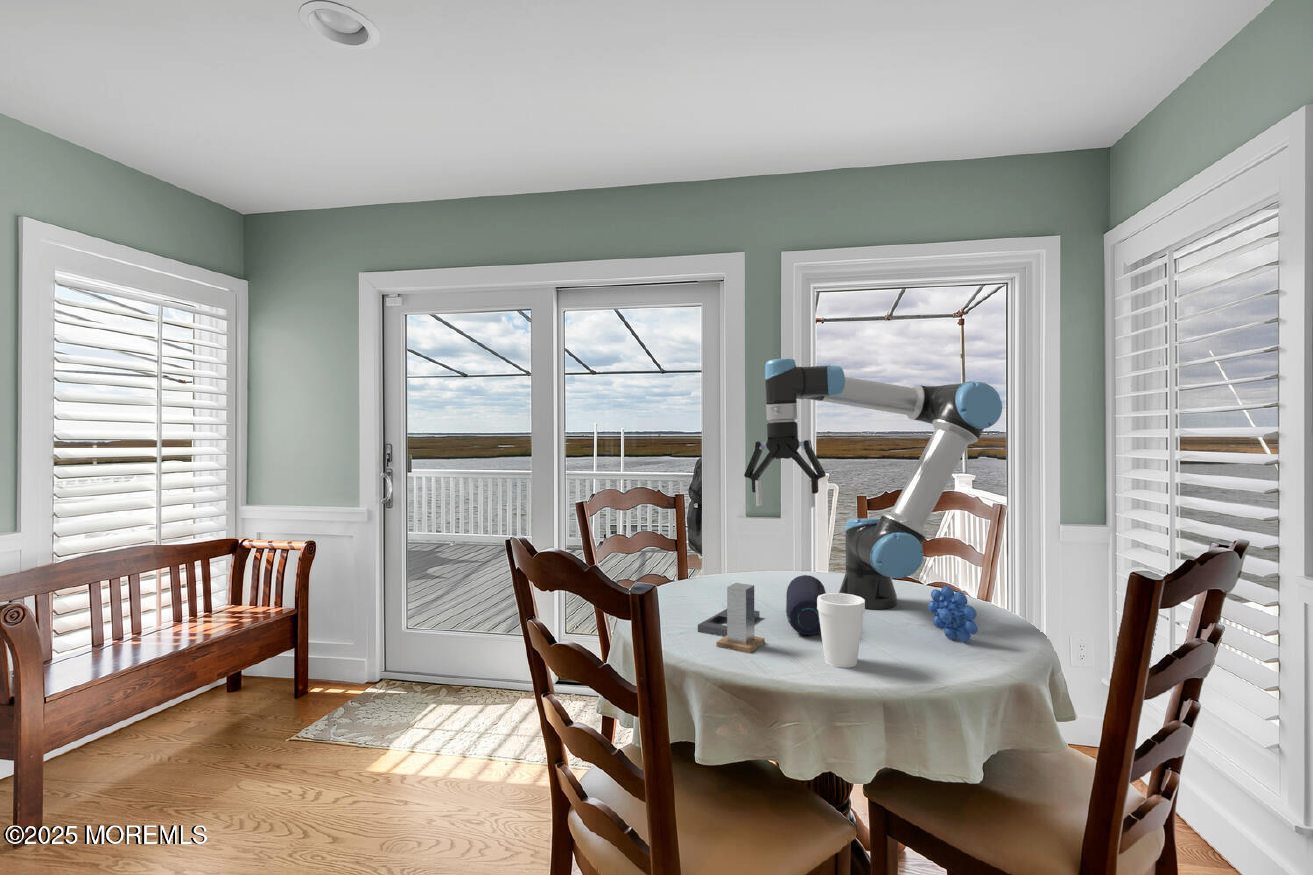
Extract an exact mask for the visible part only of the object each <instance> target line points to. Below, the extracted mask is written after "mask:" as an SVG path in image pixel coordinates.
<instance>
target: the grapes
mask: <svg viewBox="0 0 1313 875" xmlns="http://www.w3.org/2000/svg"><path fill="white" fill-rule="evenodd" d="M930 596H931V600H930V601H929V602H928V604H927V609H928V611H929V612H930V613H931V614H932V615H934V616H933V617H932V622H933V625H934V626H935V628H937V629H939V630H943V633H944V636H945V637H946V638H947V639H948V640H951V641H954V640H956V639H959V640H960V641H961V642H963V643H967V642H969V641H970V640H971V635H975V634H977V633H978V631H979V627H978V625H977V623H976V622H975V621H974V620H976V618H977V616H978V613H977V611H976V609H975V608H974V607H973V606H972V605H969V604H968V598H967V595H965V594H964V593H963V592H961V591H956V592H954V589H953V588H952V587H951V586H949V585H943V586H942V587H941V589H937V588H935V589H932V591H931V592H930Z"/></svg>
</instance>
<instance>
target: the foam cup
mask: <svg viewBox="0 0 1313 875" xmlns="http://www.w3.org/2000/svg"><path fill="white" fill-rule="evenodd" d="M817 610H818V612H819V620H820V627H821V632H820V634H821V642H822V650H823V657H824V661H825V663H826V664H827V665H830V666H832V667H836V668H846V669H847V668H853V667H855V666H857V663H858V657H859V649H860V643H861V642H860V640H861V635H862V628H863V620H864V615H865V612H866V611H865V610H866V608H865V600H864V599H863V598H861V597H859V596H855V595H851V594H844V593H838V592H834V593H833V592H830V593H826V594H822V595H819V596H818V598H817Z"/></svg>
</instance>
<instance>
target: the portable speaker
mask: <svg viewBox="0 0 1313 875" xmlns="http://www.w3.org/2000/svg"><path fill="white" fill-rule="evenodd" d="M822 594H827V592H826V589H825V586H824V585H823V583H822V582H821V580H819V579H818V578H816V577H815V576H813V575H806V574H804V575H803V574H802V575H799V576H796V577H794V578H793V579H792V580H791V581H790V583H789V584H788V586H787V587H786V596H785V597H786V600H785V602H786V604H785V606H786V607H785V612H786V618H787V620H788V623H789V625H790V627H792V629H793V630H794V631H795V632H797V633H799V634H801V635H807V636H812V635H816V634H817V635H818V634H820V633H821V627H820V620H819V612H818V610H817V598H818V596H819V595H822Z"/></svg>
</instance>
